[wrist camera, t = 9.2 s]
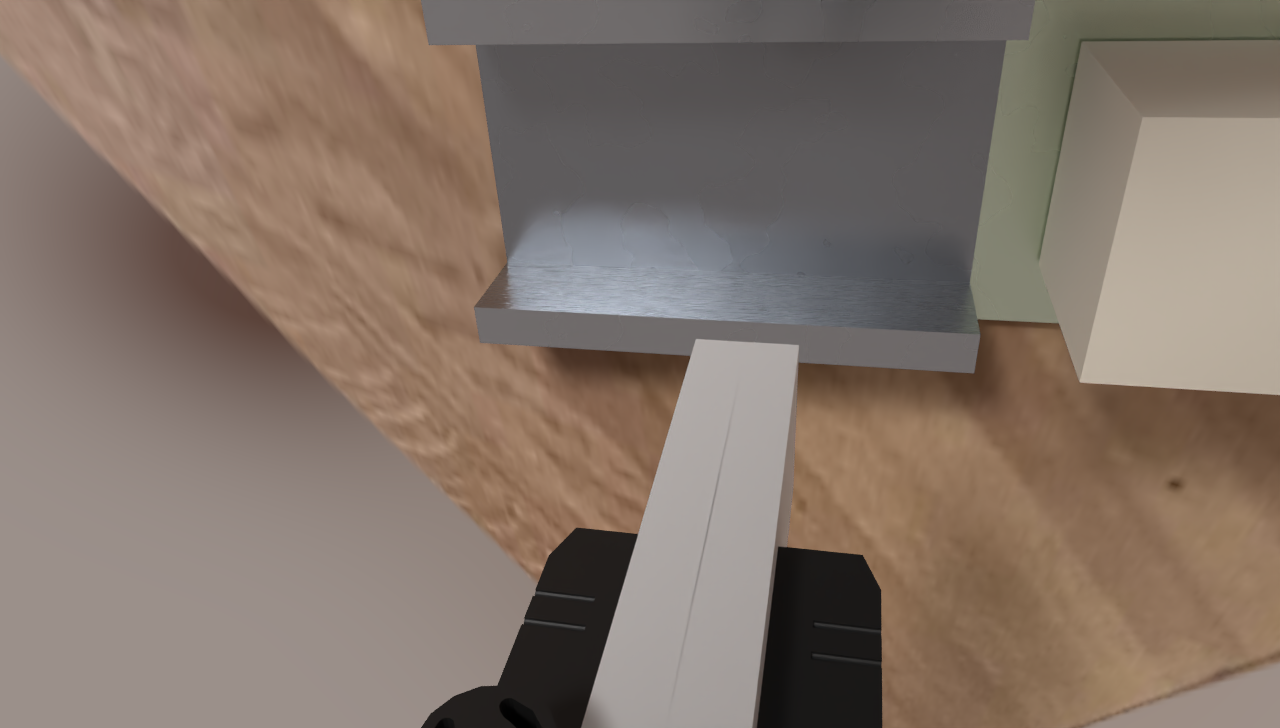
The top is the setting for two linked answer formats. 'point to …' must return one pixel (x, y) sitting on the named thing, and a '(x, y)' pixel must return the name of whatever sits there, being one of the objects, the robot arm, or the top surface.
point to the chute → (786, 165)
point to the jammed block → (1170, 216)
